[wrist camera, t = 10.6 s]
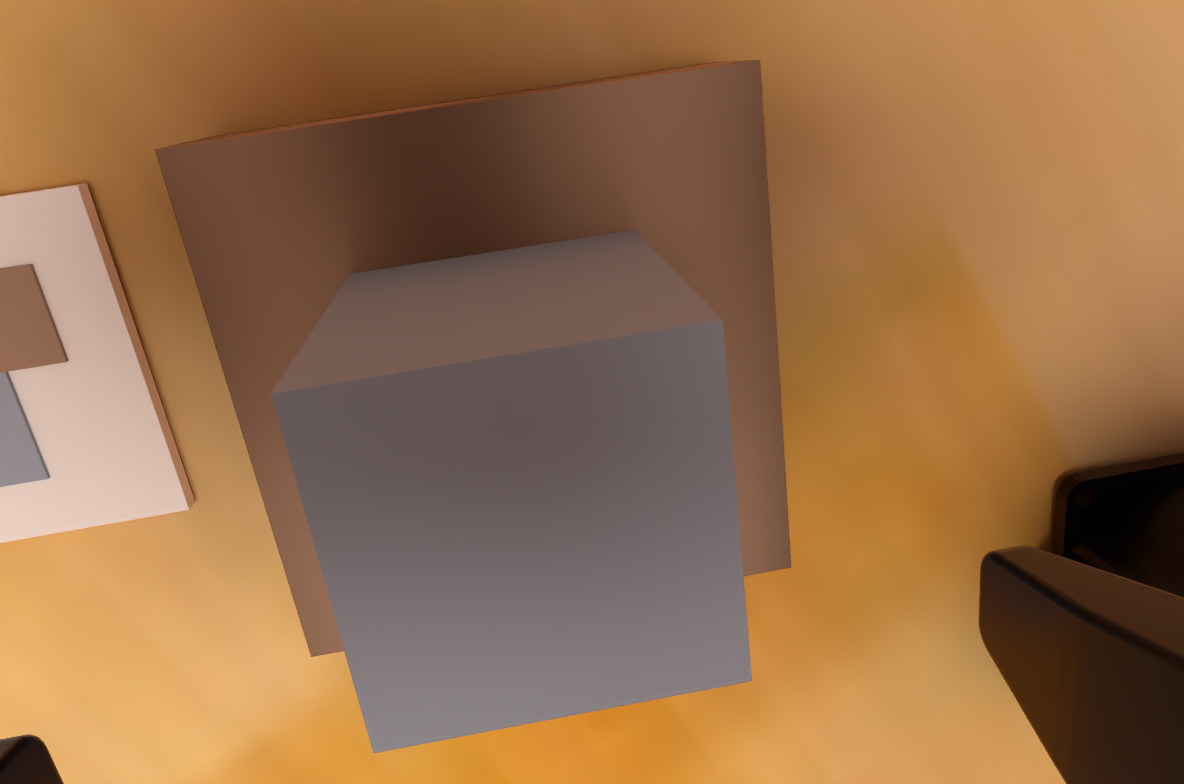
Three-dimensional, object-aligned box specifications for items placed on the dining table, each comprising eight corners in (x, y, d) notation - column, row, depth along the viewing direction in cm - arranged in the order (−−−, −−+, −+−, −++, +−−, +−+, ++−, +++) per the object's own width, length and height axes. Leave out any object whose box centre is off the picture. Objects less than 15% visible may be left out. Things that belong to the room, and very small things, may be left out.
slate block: (633, 229, 15) (722, 320, 10) (663, 481, 17) (752, 681, 11) (349, 274, 15) (270, 393, 9) (409, 525, 17) (373, 753, 11)
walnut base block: (715, 61, 17) (760, 60, 14) (749, 501, 21) (791, 567, 18) (210, 137, 17) (154, 149, 14) (335, 576, 20) (311, 656, 17)
